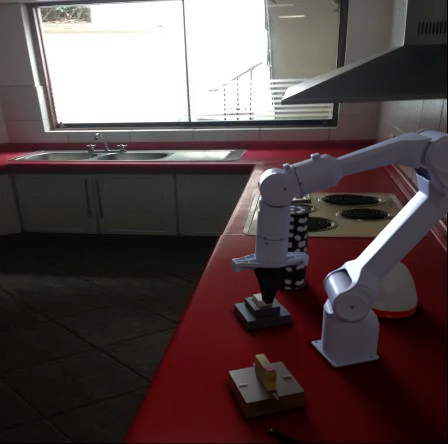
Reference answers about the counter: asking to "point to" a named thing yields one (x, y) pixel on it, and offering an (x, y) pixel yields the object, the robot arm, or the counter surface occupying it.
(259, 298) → the white square block
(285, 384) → the panel
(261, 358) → the yellow rectangular block
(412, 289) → the kitchen timer
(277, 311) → the grey stepped block
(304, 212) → the white-spotted black cylinder
